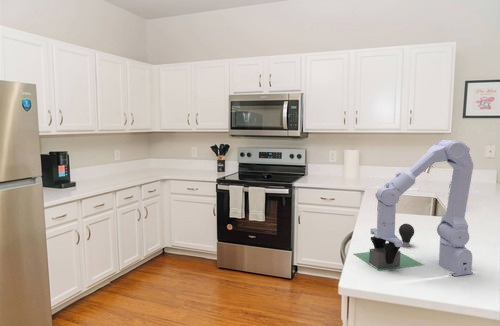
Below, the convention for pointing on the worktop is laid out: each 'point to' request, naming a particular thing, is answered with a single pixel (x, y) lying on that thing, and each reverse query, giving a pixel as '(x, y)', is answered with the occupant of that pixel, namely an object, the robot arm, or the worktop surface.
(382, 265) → the plug housing
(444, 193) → the worktop surface
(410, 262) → the header board
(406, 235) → the light bulb
